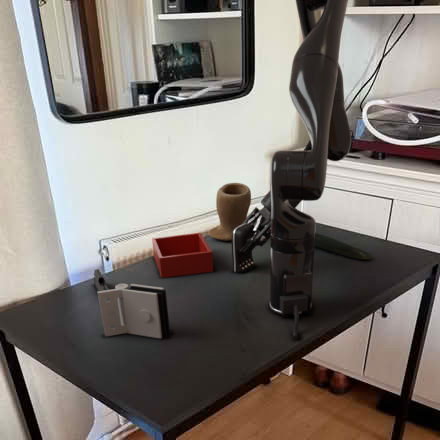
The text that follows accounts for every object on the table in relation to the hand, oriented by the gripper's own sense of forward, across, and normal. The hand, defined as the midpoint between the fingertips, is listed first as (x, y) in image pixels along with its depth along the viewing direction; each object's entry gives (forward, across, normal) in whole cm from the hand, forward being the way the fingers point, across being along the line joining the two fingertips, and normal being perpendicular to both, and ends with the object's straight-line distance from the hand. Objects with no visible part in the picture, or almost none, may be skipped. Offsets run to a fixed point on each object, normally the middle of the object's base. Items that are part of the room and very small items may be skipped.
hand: (239, 249), depth 144 cm
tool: (-15, -7, +23) cm, 28 cm away
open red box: (+14, -9, -6) cm, 17 cm away
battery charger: (+3, 0, +5) cm, 6 cm away
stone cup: (0, -26, +8) cm, 27 cm away
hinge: (+25, +27, -17) cm, 41 cm away
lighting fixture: (+28, +7, -20) cm, 36 cm away
